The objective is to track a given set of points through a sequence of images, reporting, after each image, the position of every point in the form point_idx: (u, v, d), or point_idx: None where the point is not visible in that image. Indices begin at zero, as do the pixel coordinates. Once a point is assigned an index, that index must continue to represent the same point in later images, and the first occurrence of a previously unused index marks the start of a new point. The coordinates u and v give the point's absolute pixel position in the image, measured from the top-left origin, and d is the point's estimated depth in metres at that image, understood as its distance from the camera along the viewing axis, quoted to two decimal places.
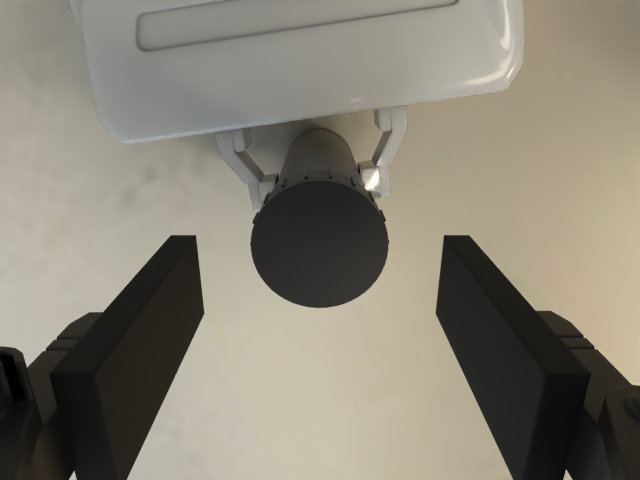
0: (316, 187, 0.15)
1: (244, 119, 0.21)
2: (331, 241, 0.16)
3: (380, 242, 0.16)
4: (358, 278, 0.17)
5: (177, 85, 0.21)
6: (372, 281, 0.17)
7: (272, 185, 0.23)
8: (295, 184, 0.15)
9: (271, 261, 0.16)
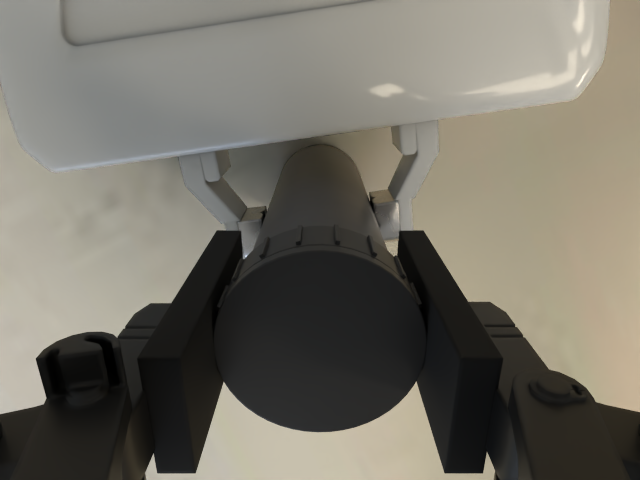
0: (314, 261, 0.10)
1: (216, 139, 0.15)
2: (338, 340, 0.10)
3: (415, 341, 0.10)
4: (379, 392, 0.11)
5: (121, 93, 0.15)
6: (401, 396, 0.11)
7: (257, 225, 0.17)
8: (281, 256, 0.10)
9: (245, 369, 0.11)
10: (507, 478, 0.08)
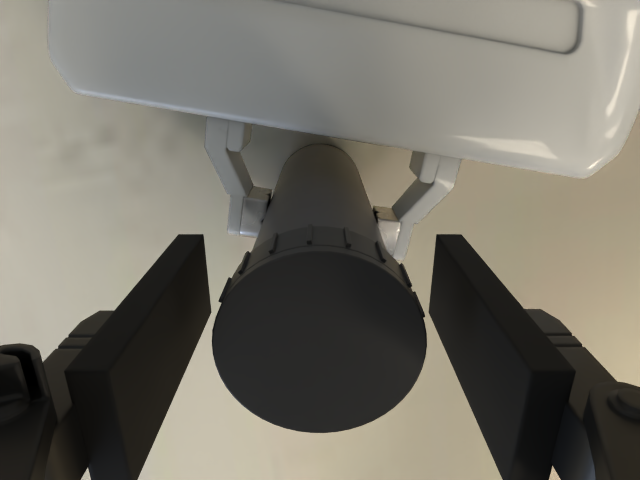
0: (224, 359, 0.10)
1: (252, 112, 0.15)
2: (306, 335, 0.10)
3: (302, 264, 0.10)
4: (370, 291, 0.10)
5: (173, 37, 0.14)
6: (375, 269, 0.10)
7: (262, 205, 0.17)
8: (225, 383, 0.11)
9: (346, 408, 0.11)
10: None
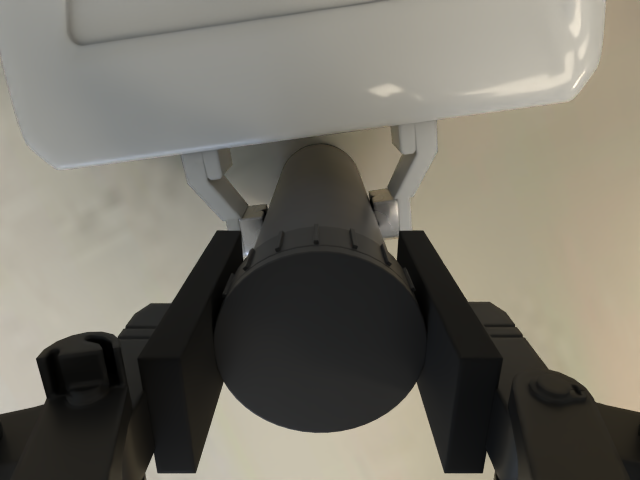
0: (234, 381, 0.11)
1: (218, 138, 0.16)
2: (303, 339, 0.10)
3: (274, 273, 0.10)
4: (349, 280, 0.10)
5: (126, 92, 0.15)
6: (346, 258, 0.09)
7: (258, 222, 0.18)
8: (243, 404, 0.11)
9: (366, 400, 0.11)
10: (507, 478, 0.08)
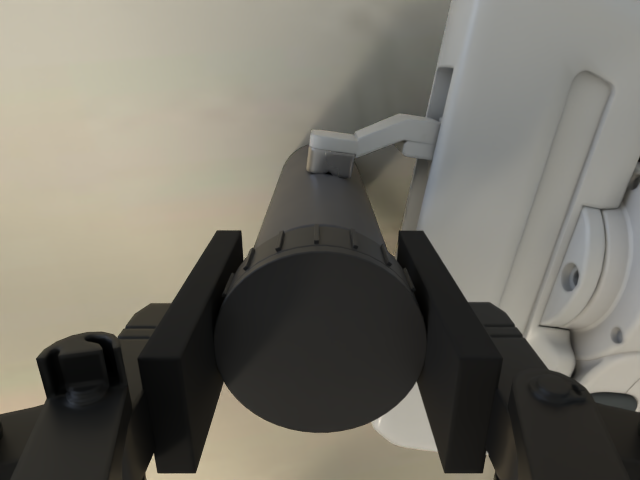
0: (234, 381, 0.11)
1: (445, 174, 0.16)
2: (303, 339, 0.10)
3: (275, 273, 0.10)
4: (349, 280, 0.10)
5: (519, 104, 0.15)
6: (346, 258, 0.09)
7: (345, 173, 0.17)
8: (243, 404, 0.11)
9: (366, 400, 0.11)
10: (507, 478, 0.08)
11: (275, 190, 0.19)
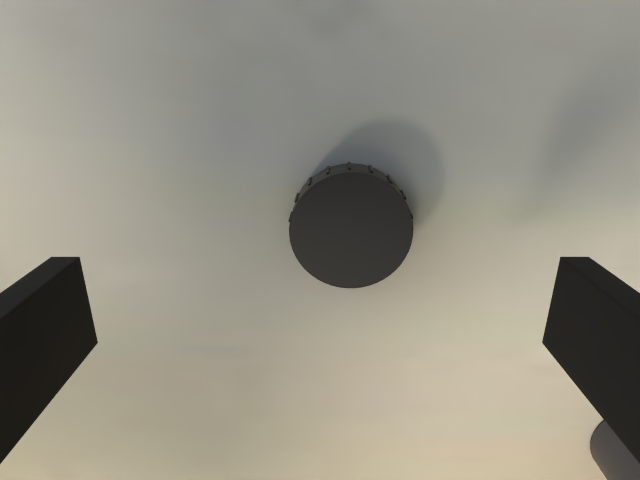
0: (300, 253, 0.18)
1: None
2: (341, 226, 0.18)
3: (326, 185, 0.17)
4: (368, 189, 0.17)
5: None
6: (366, 176, 0.17)
7: None
8: (304, 268, 0.19)
9: (377, 266, 0.18)
10: None
11: None
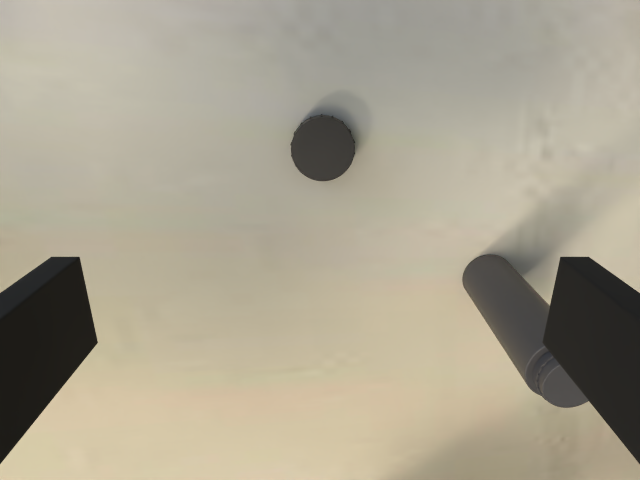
0: (296, 161, 0.35)
1: None
2: (317, 146, 0.35)
3: (310, 124, 0.34)
4: (330, 126, 0.34)
5: None
6: (330, 119, 0.34)
7: None
8: (299, 170, 0.36)
9: (337, 168, 0.35)
10: None
11: (493, 294, 0.35)
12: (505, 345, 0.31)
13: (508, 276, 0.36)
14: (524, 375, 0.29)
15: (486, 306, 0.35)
